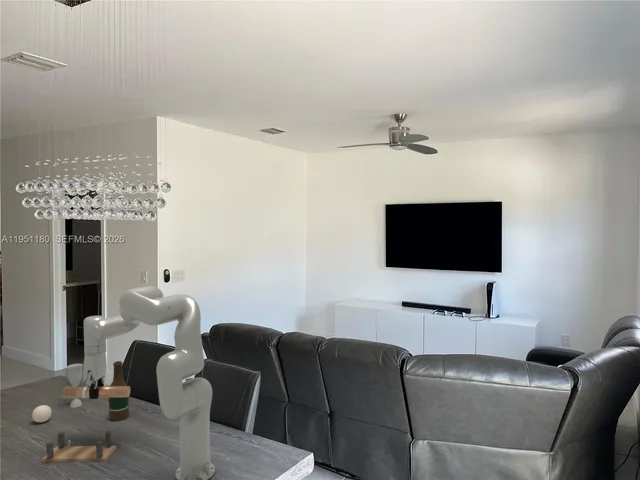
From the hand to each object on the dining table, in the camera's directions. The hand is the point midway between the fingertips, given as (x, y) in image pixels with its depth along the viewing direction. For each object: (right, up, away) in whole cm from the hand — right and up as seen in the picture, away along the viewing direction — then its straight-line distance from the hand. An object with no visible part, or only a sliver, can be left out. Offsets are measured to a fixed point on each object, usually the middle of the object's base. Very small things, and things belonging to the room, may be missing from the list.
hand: (96, 395), depth 176 cm
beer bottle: (0, -16, +20) cm, 26 cm away
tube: (0, 0, 0) cm, 0 cm away
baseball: (-31, -17, +17) cm, 39 cm away
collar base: (-1, -18, -11) cm, 21 cm away
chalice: (-26, -16, +34) cm, 45 cm away
